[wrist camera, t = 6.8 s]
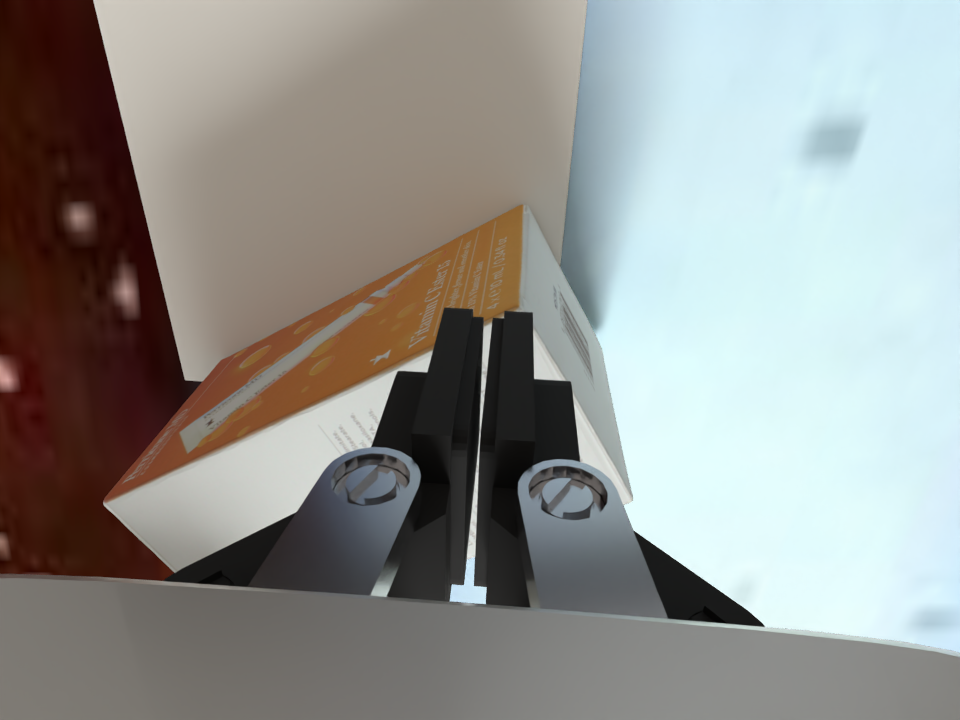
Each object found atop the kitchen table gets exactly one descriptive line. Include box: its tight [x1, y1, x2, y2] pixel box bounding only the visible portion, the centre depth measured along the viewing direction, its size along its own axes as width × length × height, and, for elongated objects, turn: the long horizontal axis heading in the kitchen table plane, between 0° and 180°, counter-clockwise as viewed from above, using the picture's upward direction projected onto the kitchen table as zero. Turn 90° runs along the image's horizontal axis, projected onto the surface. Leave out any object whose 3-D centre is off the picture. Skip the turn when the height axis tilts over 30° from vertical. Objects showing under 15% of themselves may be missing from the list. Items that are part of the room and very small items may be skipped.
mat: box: [93, 0, 588, 381], centre depth 21 cm, size 14×14×1 cm
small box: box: [103, 204, 633, 573], centre depth 20 cm, size 8×6×13 cm
